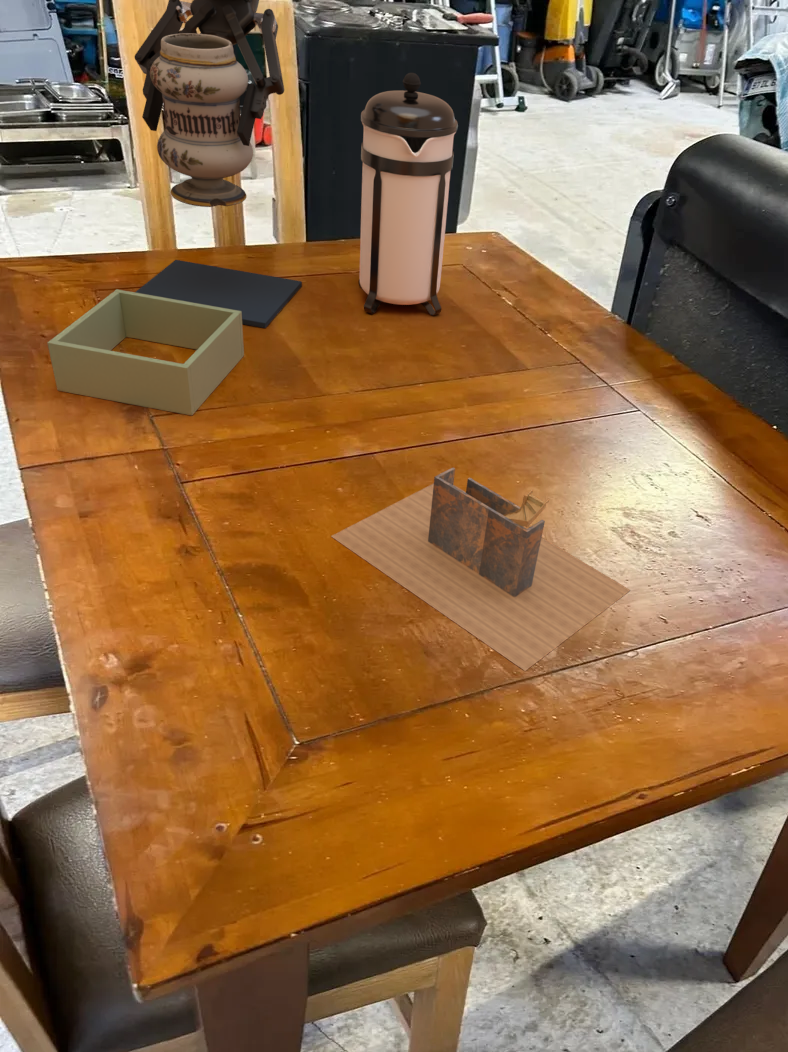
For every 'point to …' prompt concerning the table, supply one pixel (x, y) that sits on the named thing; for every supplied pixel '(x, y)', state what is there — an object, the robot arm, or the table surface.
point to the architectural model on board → (484, 566)
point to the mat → (224, 290)
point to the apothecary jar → (202, 117)
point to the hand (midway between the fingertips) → (195, 131)
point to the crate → (145, 380)
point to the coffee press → (404, 196)
